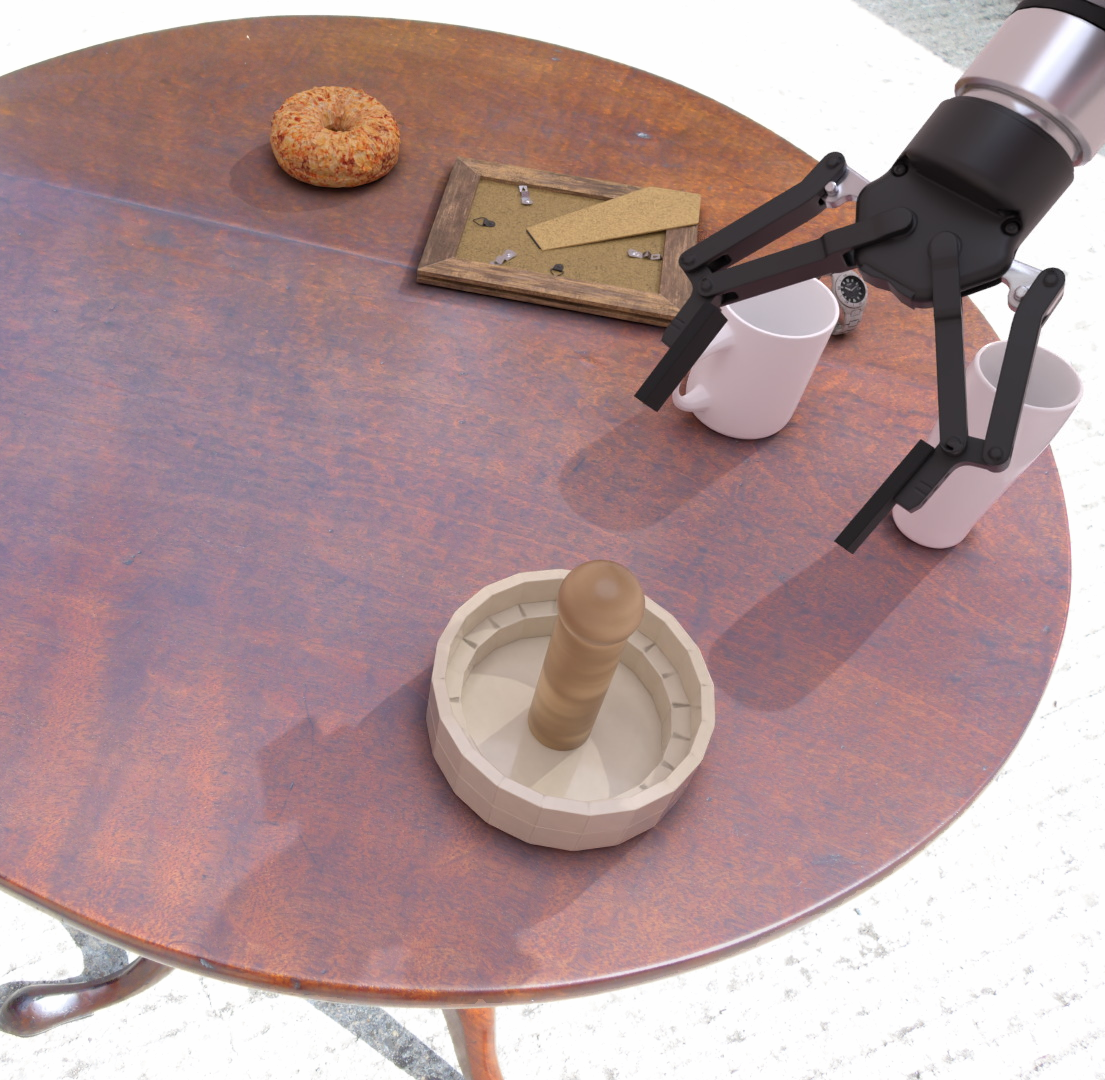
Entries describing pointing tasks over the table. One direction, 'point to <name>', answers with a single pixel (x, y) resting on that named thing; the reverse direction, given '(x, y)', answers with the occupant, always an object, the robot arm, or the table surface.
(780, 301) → the mug
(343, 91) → the bagel
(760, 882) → the table surface
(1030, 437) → the drinking glass
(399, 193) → the table surface
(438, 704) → the bowl
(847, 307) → the wristwatch
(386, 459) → the table surface
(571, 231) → the picture frame
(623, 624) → the pestle
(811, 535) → the table surface
